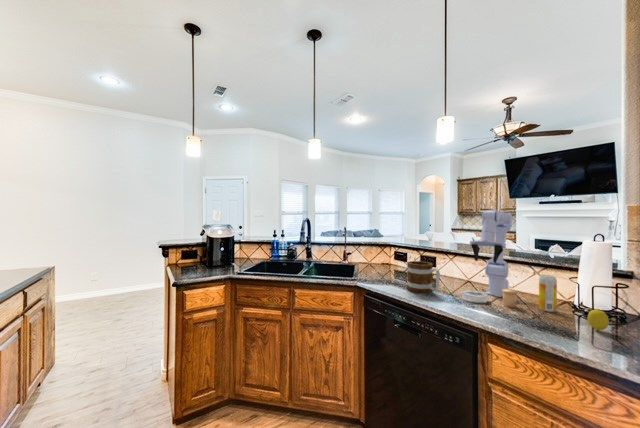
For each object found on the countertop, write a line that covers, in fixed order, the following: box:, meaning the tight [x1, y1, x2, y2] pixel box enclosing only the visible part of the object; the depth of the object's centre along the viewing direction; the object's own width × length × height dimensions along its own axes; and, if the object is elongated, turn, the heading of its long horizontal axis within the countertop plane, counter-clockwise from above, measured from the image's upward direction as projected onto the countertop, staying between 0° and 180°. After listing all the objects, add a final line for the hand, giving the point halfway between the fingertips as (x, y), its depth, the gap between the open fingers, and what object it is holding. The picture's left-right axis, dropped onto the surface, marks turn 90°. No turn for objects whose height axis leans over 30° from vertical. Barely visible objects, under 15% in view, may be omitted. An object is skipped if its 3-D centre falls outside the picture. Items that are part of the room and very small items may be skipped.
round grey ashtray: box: [461, 289, 489, 304], centre depth 140 cm, size 11×11×3 cm
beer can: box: [538, 274, 558, 313], centre depth 125 cm, size 6×6×15 cm
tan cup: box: [502, 288, 518, 308], centre depth 131 cm, size 6×6×7 cm
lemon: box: [587, 308, 610, 332], centre depth 103 cm, size 6×6×8 cm
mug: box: [406, 260, 441, 295], centre depth 154 cm, size 20×14×15 cm
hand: (485, 261), depth 130 cm, fingers open, 7 cm apart
